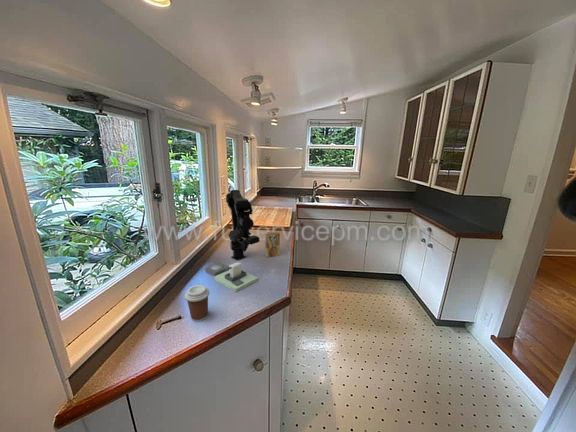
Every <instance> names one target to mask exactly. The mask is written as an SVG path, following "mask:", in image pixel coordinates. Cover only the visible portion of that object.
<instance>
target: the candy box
mask: <svg viewBox="0 0 576 432" xmlns="http://www.w3.org/2000/svg"><path fill="white" fill-rule="evenodd" d="M280 235H281V233H280V232H279V230H276V231H275V230H274V231H266V232H264V255H265V257H266V258H270V257H271V258H272V257H278V256H281V250H280V249H281V247H280V246H281V245H280V244H281V239H280V238H281V236H280Z"/></svg>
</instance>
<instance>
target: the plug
mask: <svg viewBox="0 0 576 432" xmlns="http://www.w3.org/2000/svg"><path fill="white" fill-rule="evenodd" d="M228 267H229V268H227V269H225V270H226V271H227V270H229V271H230V277H232V278H233V277H235V276H237V275H240V274H241V270H242V263H241V262H238V261H237V262H235V263H231V264H229V265H228Z"/></svg>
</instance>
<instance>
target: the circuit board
mask: <svg viewBox="0 0 576 432" xmlns="http://www.w3.org/2000/svg"><path fill="white" fill-rule="evenodd" d="M213 280H214V281H216V282H217V283H219V284H221V285H223V286H225V287H226V288H229V290H231V291H234V292H238V291H240V290H243V289H244V288H246V287H248V286H250V285H252V284H254V283H256V282H257V281H259V278H258V277H257V276H256V275H253V274H251V273H249V272H248V271H244V270H243V269H241V274H240V275H237V276H235V277H233V278H232V277H230V271H229V270H228V271H226V272H224V273H221V274H219V275H217V276H213Z"/></svg>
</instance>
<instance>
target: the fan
mask: <svg viewBox="0 0 576 432" xmlns="http://www.w3.org/2000/svg"><path fill="white" fill-rule="evenodd" d="M204 268H205V273H207V274H209V275H210V276H212V277H214V276H217V275H219V274H221V273H224V272H226V270H225V269H227V268H229V265H226V264H224V263H222V262H217V263H214V264H212V265H211V264H210V266H206V267H204ZM227 271H228V270H227Z"/></svg>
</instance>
